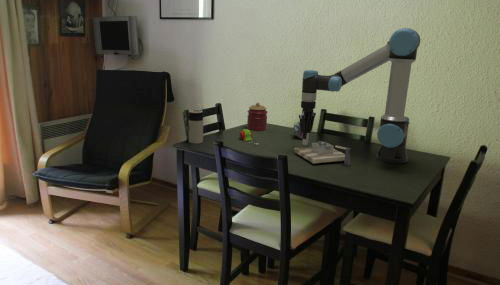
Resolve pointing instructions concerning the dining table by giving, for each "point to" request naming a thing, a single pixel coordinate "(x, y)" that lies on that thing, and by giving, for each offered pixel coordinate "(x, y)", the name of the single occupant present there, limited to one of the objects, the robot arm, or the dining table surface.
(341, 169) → the dining table surface
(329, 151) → the cover
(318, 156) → the patterned tray
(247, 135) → the toy measuring tape
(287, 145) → the dining table surface
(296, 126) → the toy figurine
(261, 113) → the canister
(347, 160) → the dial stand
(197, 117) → the travel mug
